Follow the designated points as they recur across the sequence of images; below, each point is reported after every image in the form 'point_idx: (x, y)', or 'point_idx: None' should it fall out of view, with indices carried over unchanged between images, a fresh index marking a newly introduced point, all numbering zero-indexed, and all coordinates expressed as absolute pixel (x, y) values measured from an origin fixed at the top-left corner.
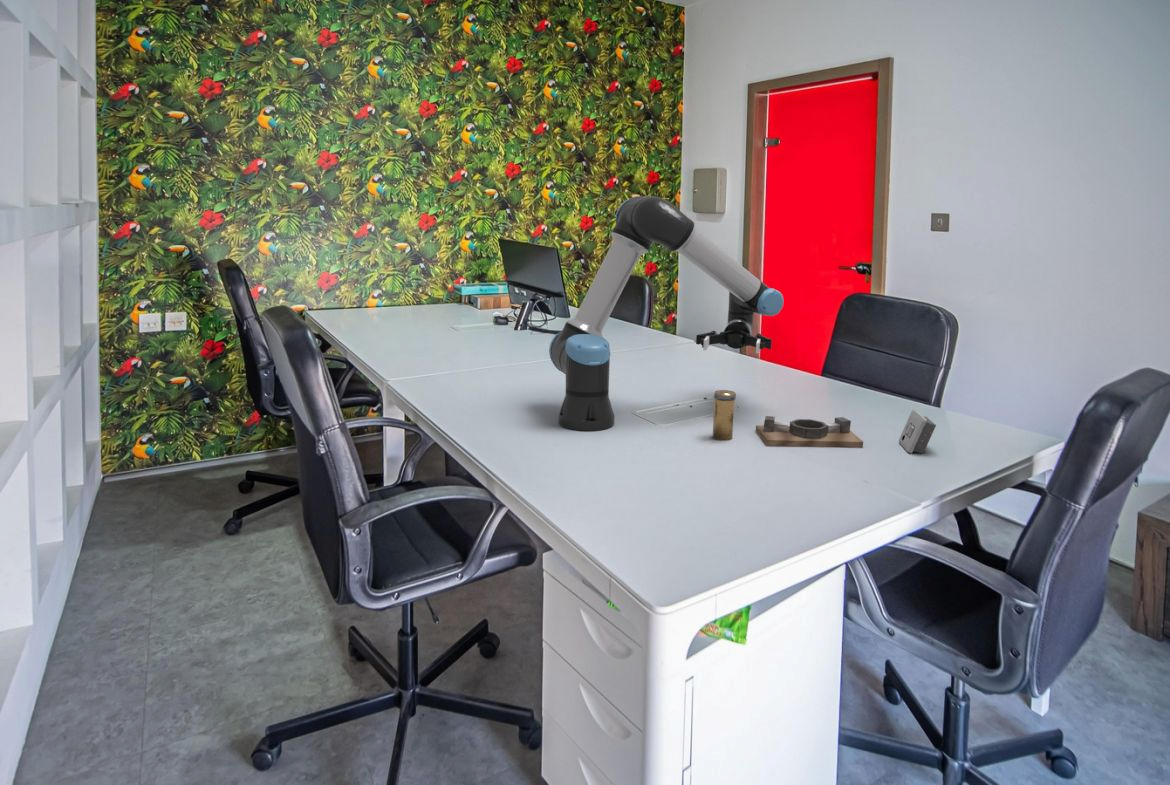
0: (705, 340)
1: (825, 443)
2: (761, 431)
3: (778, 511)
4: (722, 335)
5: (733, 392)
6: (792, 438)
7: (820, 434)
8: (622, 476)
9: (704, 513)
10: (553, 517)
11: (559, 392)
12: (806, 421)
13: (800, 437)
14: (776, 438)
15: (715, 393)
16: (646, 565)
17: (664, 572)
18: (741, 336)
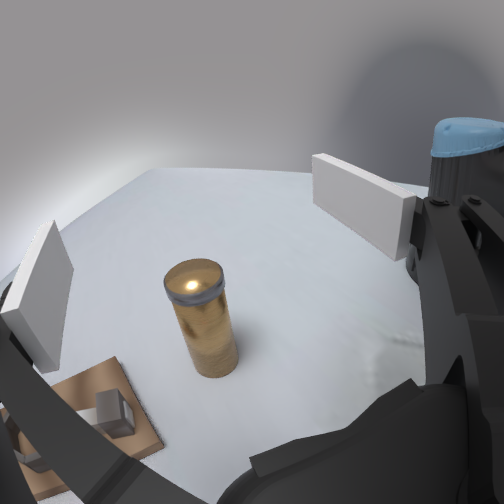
0: (316, 155)
1: None
2: (134, 401)
3: (100, 229)
4: (452, 325)
5: (171, 284)
6: (70, 389)
7: None
8: (252, 206)
9: (154, 205)
10: (244, 169)
11: None
12: (34, 455)
13: None
14: (99, 374)
15: (214, 262)
16: (168, 173)
17: (157, 174)
18: (240, 476)
